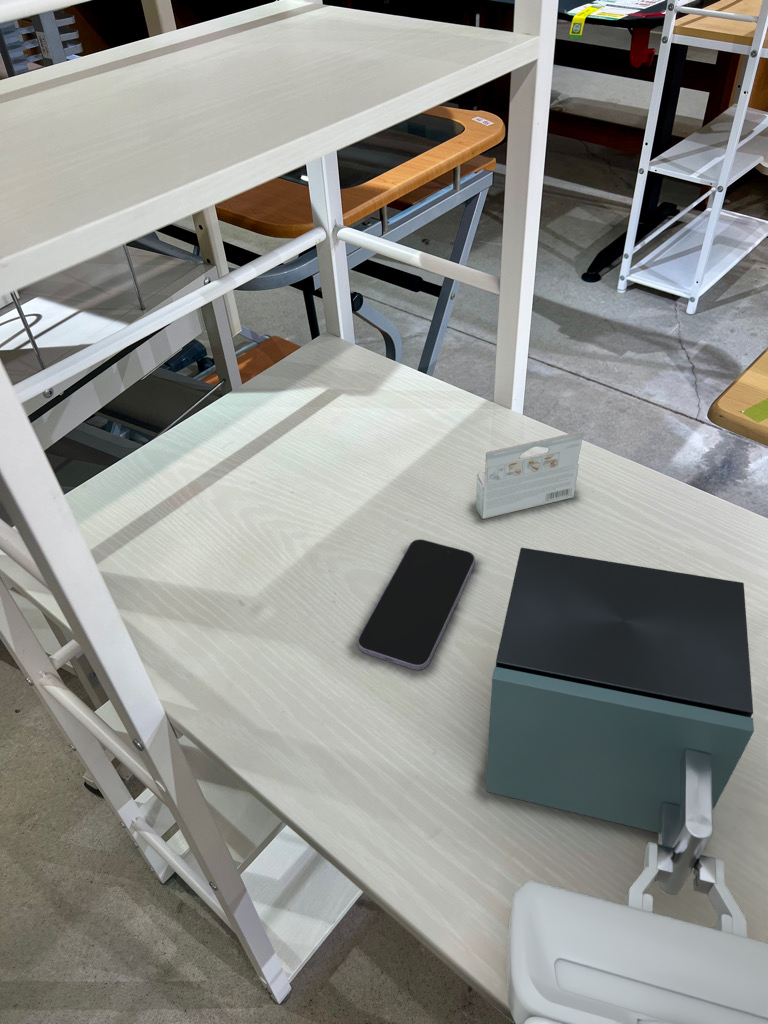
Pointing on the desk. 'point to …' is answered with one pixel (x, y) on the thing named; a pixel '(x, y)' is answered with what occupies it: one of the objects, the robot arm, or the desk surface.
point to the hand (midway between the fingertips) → (682, 853)
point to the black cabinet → (629, 630)
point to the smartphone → (417, 604)
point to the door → (614, 758)
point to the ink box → (528, 476)
